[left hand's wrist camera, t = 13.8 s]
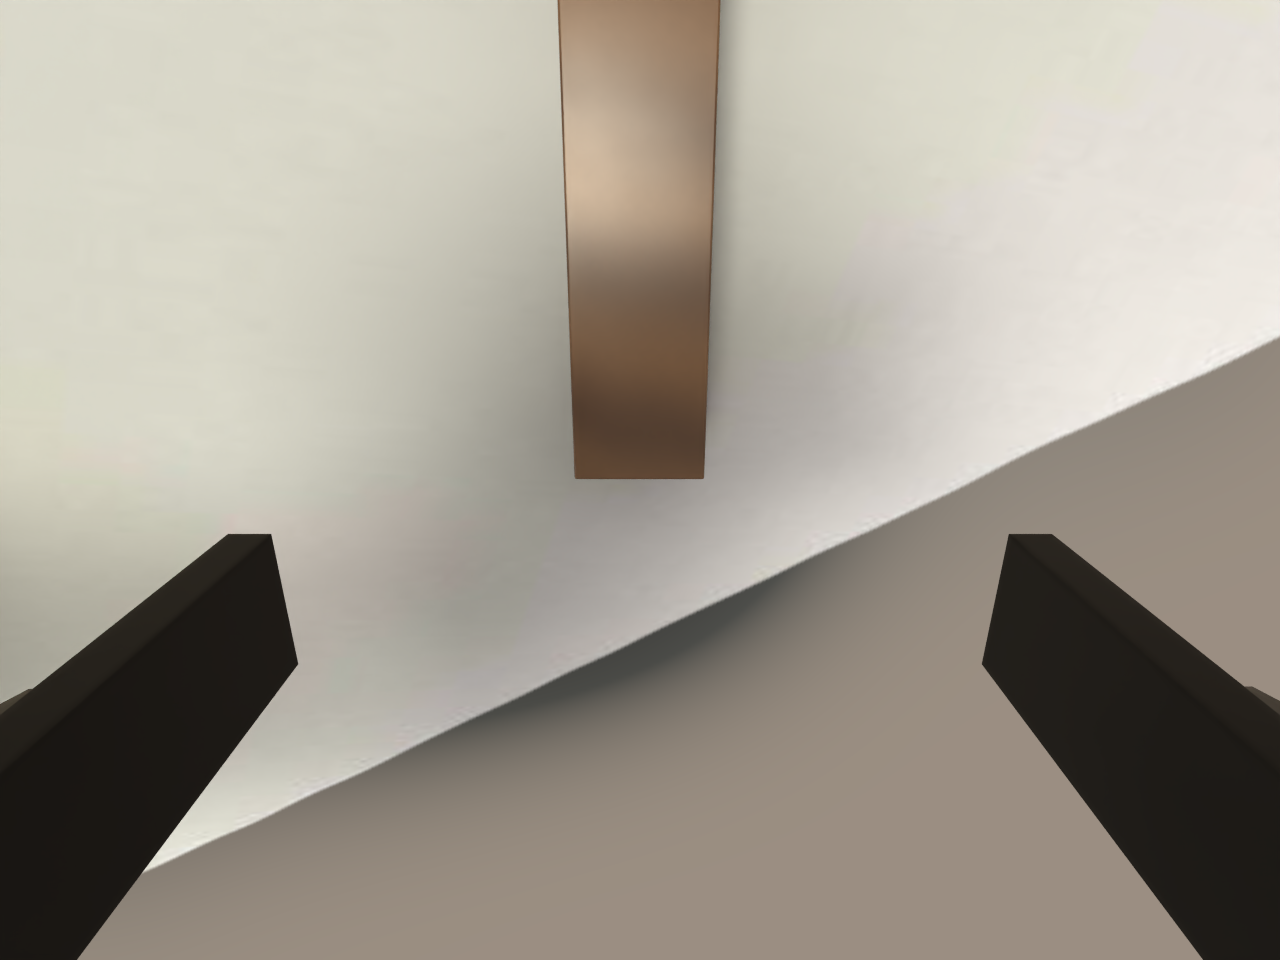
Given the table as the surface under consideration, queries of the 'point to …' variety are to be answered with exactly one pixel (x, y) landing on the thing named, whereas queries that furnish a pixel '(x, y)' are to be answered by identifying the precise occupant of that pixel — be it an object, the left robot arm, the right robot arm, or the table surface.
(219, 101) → the table surface
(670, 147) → the beam
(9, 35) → the table surface
